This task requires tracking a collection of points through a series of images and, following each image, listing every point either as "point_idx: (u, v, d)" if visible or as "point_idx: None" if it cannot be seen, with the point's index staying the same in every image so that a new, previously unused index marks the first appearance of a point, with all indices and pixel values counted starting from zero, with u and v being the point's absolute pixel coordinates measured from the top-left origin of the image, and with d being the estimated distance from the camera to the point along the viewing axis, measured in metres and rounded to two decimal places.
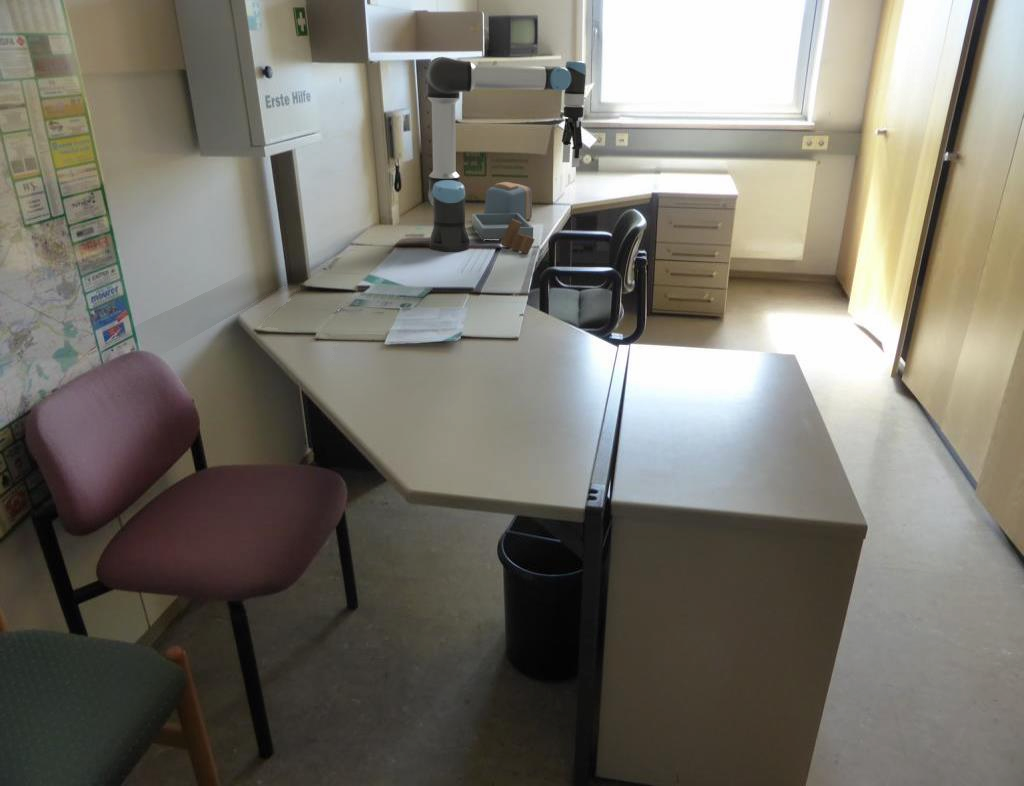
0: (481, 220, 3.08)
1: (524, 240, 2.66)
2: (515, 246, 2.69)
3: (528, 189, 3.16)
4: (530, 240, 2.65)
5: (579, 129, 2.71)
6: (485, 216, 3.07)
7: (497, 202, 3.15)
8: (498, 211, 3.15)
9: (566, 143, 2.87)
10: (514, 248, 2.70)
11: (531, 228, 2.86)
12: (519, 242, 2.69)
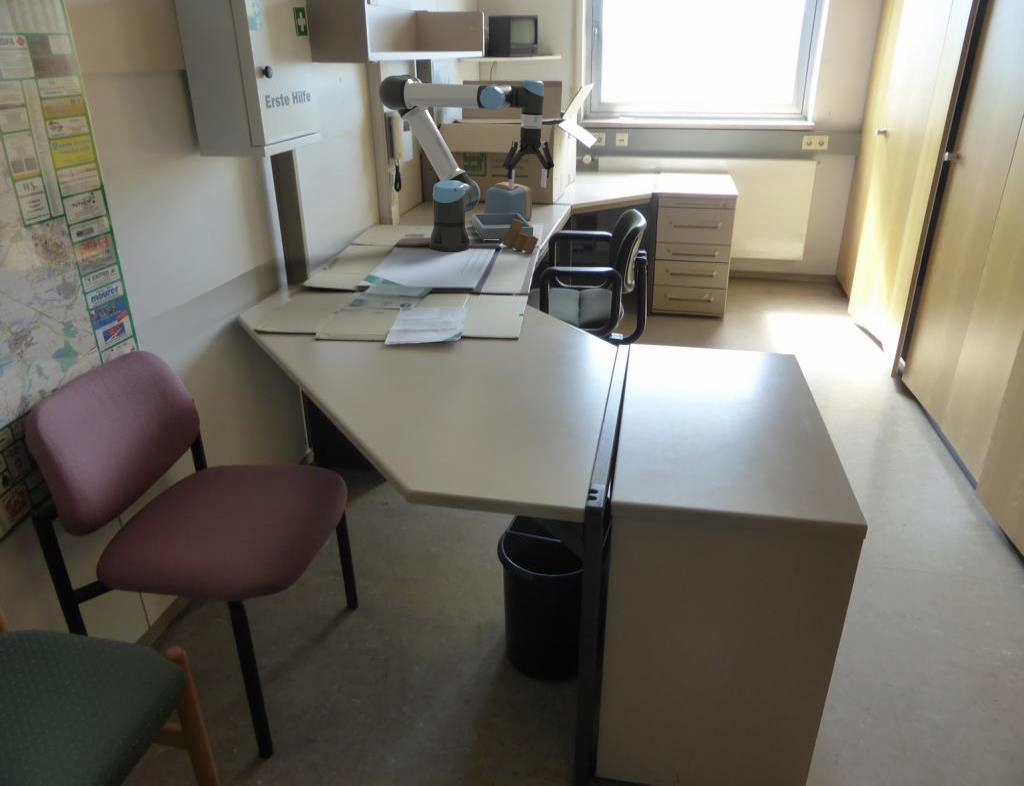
0: (481, 220, 3.08)
1: (528, 240, 2.67)
2: (518, 246, 2.70)
3: (528, 189, 3.16)
4: (534, 240, 2.66)
5: (512, 149, 2.61)
6: (485, 216, 3.07)
7: (497, 202, 3.15)
8: (498, 211, 3.15)
9: (545, 167, 2.70)
10: (518, 248, 2.70)
11: (531, 228, 2.86)
12: (522, 242, 2.70)
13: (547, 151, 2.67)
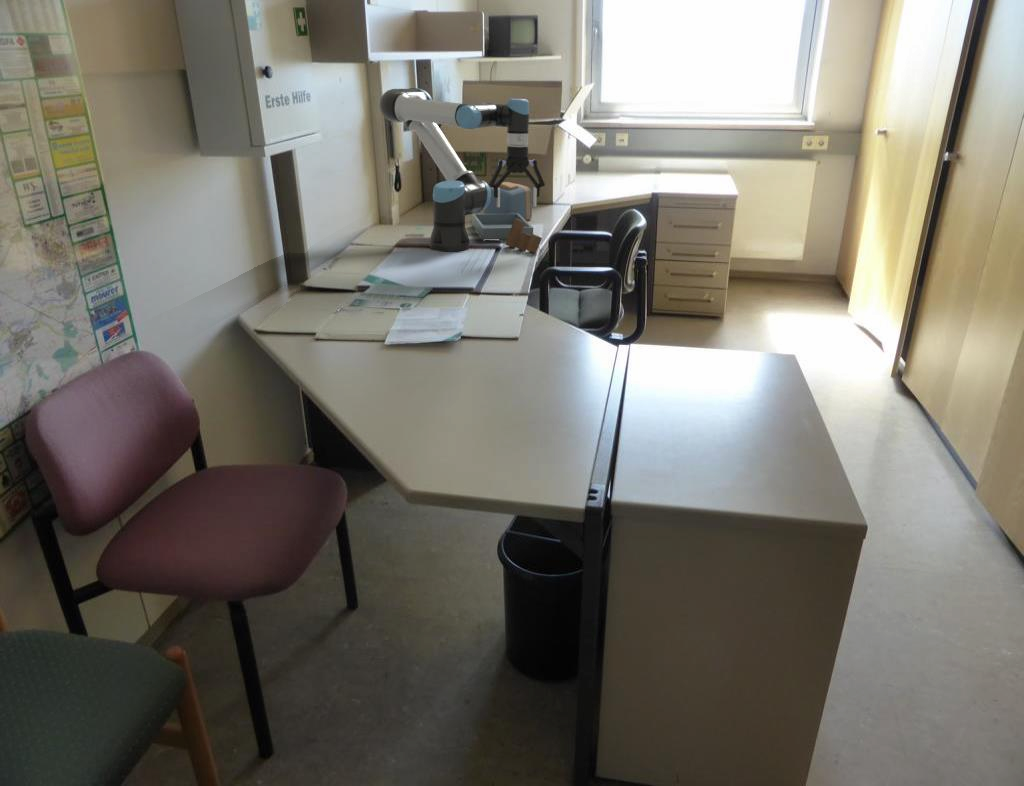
0: (481, 220, 3.08)
1: (532, 239, 2.67)
2: (522, 245, 2.70)
3: (528, 189, 3.16)
4: (538, 239, 2.67)
5: (497, 168, 2.60)
6: (485, 216, 3.07)
7: None
8: (498, 211, 3.15)
9: None
10: (521, 248, 2.70)
11: (531, 228, 2.86)
12: (525, 241, 2.70)
13: (536, 170, 2.62)
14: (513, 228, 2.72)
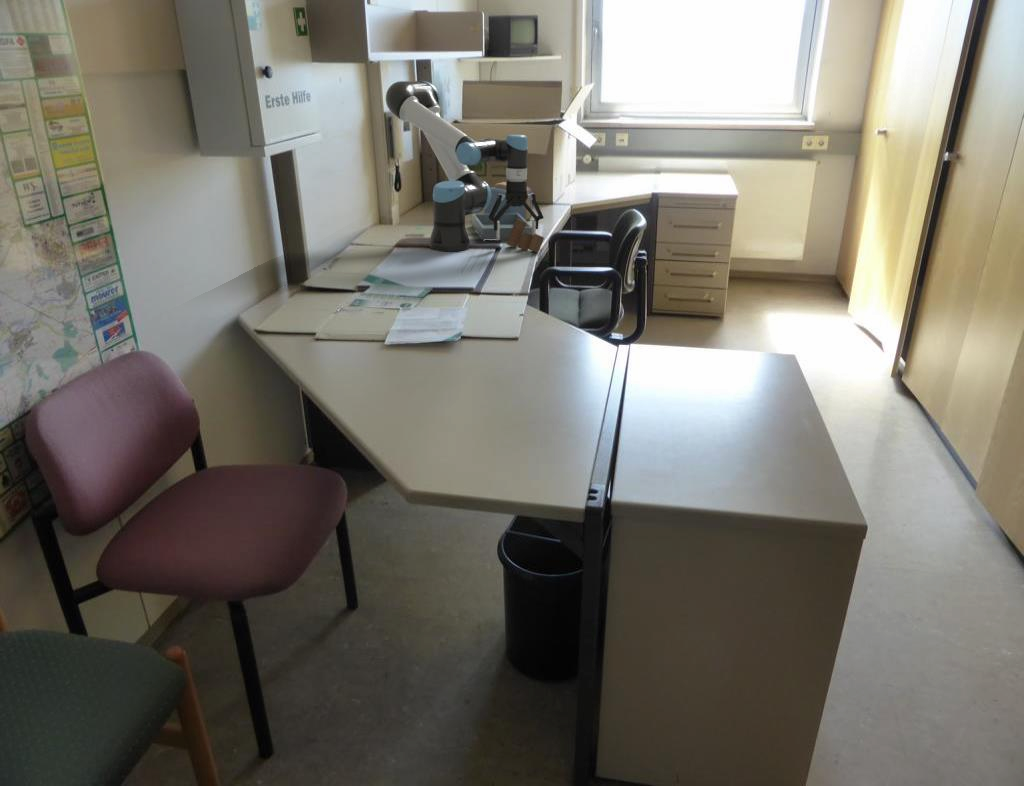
0: (481, 220, 3.08)
1: (534, 239, 2.68)
2: (524, 245, 2.70)
3: (528, 189, 3.16)
4: (540, 239, 2.68)
5: (496, 202, 2.65)
6: (485, 216, 3.07)
7: None
8: (498, 211, 3.15)
9: (534, 219, 2.71)
10: (523, 247, 2.71)
11: (531, 228, 2.86)
12: (528, 241, 2.71)
13: (535, 203, 2.67)
14: (515, 228, 2.72)
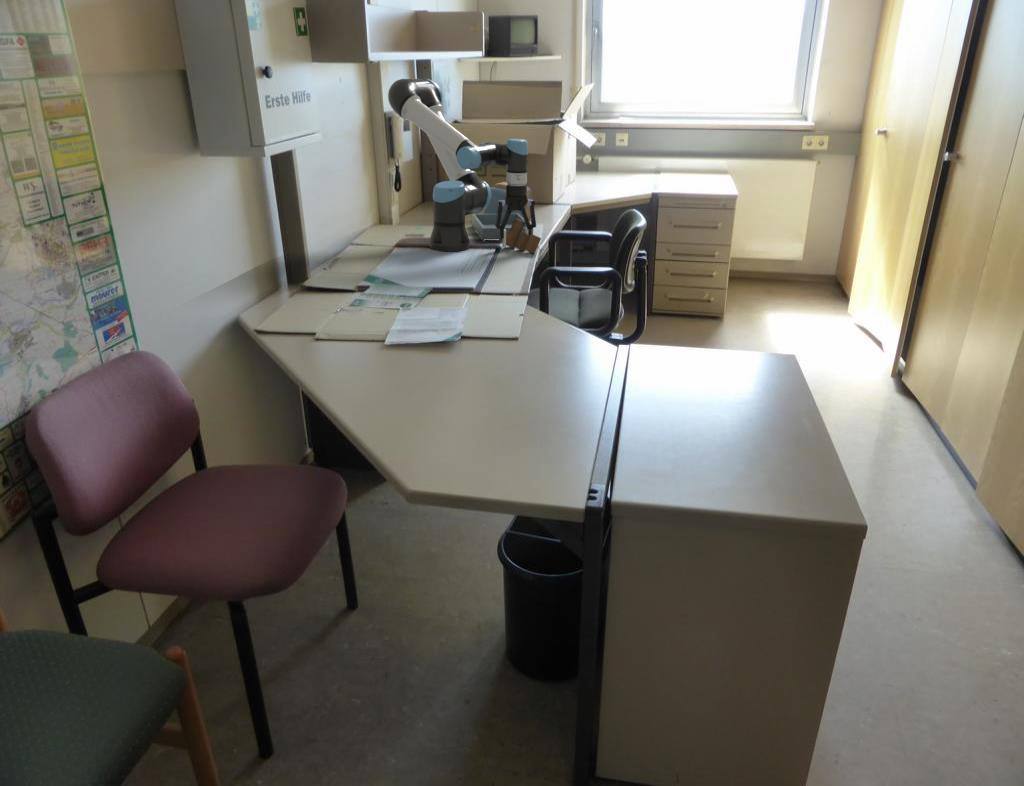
0: (481, 220, 3.08)
1: (531, 239, 2.66)
2: (521, 245, 2.69)
3: (528, 189, 3.16)
4: (537, 239, 2.66)
5: (498, 209, 2.66)
6: (485, 216, 3.07)
7: (497, 202, 3.15)
8: None
9: (527, 227, 2.72)
10: (520, 248, 2.69)
11: None
12: (525, 241, 2.69)
13: (532, 210, 2.68)
14: (513, 228, 2.71)
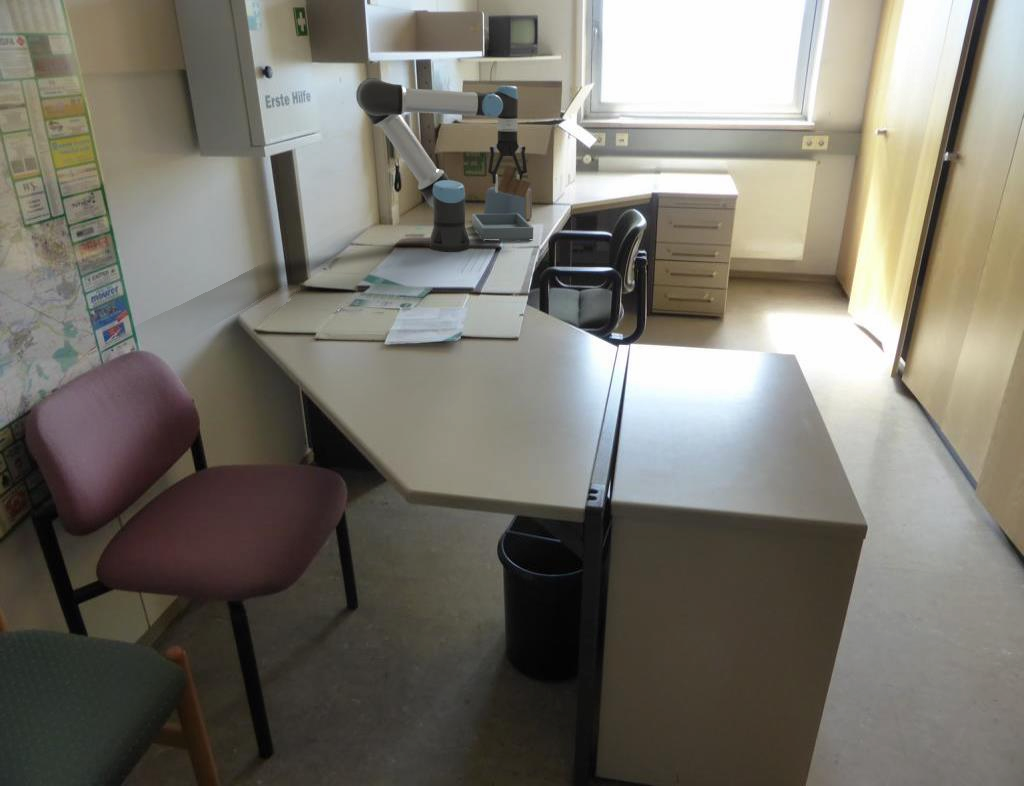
0: (481, 220, 3.08)
1: (521, 183, 2.77)
2: (512, 190, 2.80)
3: (528, 189, 3.16)
4: (526, 183, 2.76)
5: (490, 155, 2.78)
6: (485, 216, 3.07)
7: (497, 202, 3.15)
8: (498, 211, 3.15)
9: None
10: (511, 192, 2.80)
11: (531, 228, 2.86)
12: (515, 186, 2.80)
13: (523, 156, 2.79)
14: (504, 173, 2.82)
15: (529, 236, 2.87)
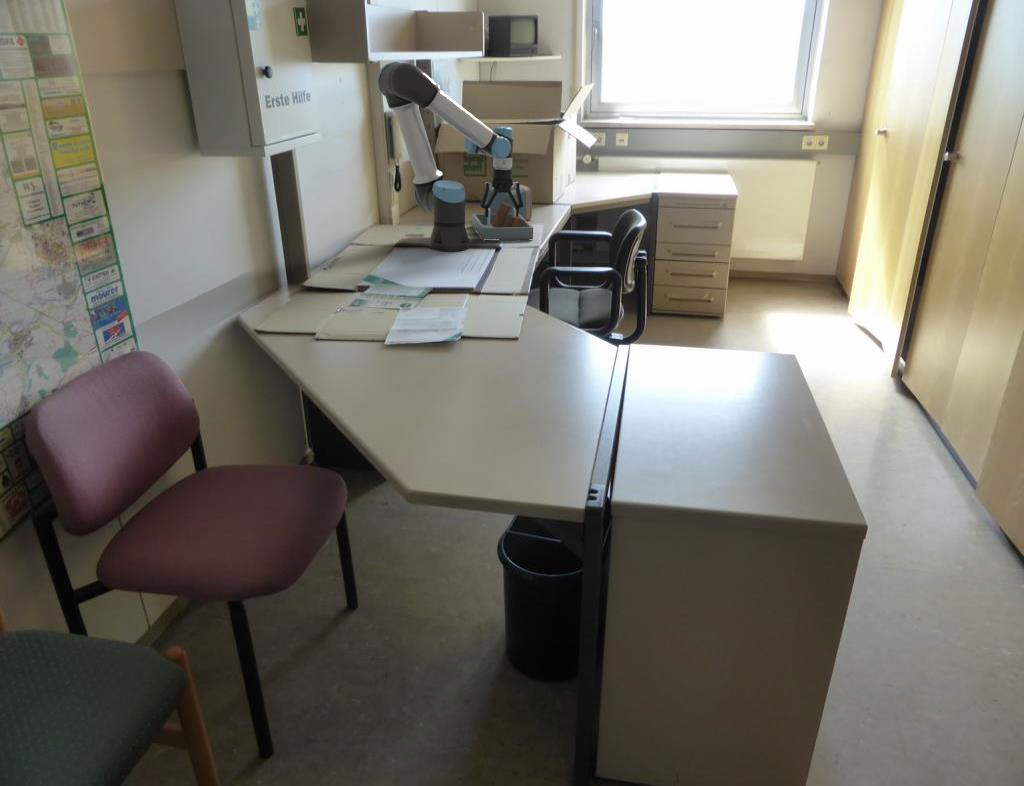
0: (481, 220, 3.08)
1: (515, 221, 2.90)
2: None
3: (528, 189, 3.16)
4: (521, 221, 2.89)
5: (485, 190, 2.89)
6: None
7: (497, 202, 3.15)
8: None
9: (515, 207, 2.95)
10: None
11: (531, 228, 2.86)
12: (510, 223, 2.93)
13: (518, 191, 2.91)
14: (499, 211, 2.95)
15: (529, 236, 2.87)
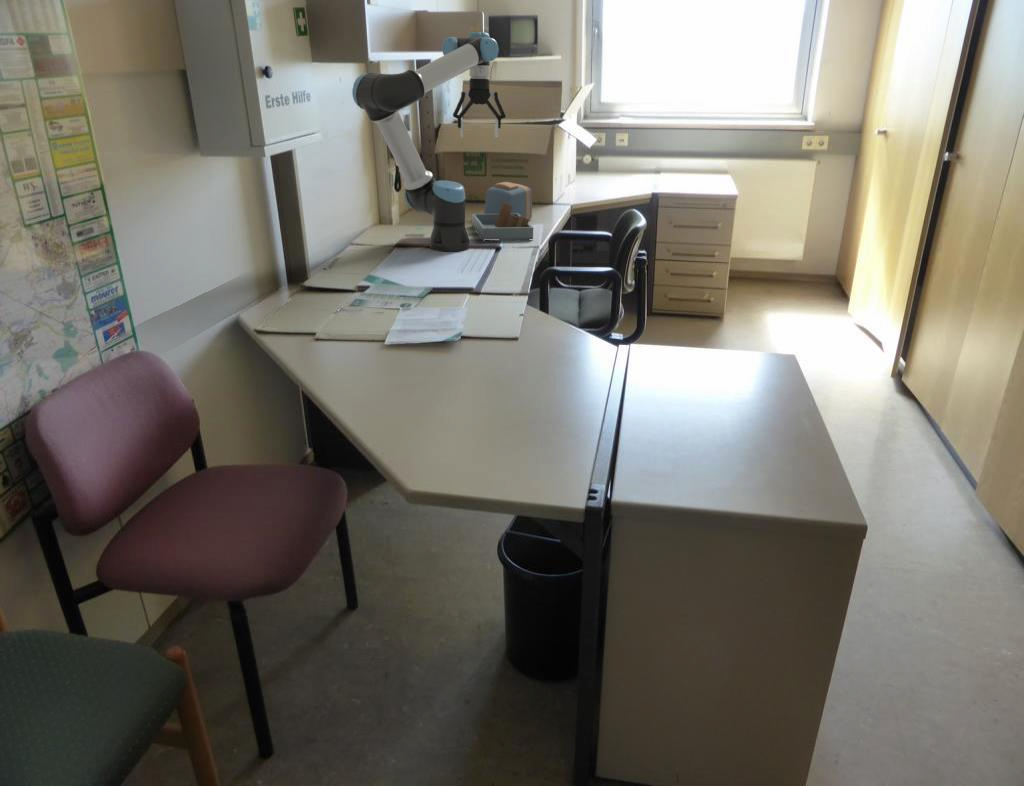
0: (481, 220, 3.08)
1: (520, 221, 2.91)
2: None
3: (528, 189, 3.16)
4: (526, 220, 2.91)
5: (460, 99, 2.76)
6: (485, 216, 3.07)
7: (497, 202, 3.15)
8: (498, 211, 3.15)
9: (497, 118, 2.82)
10: None
11: (531, 228, 2.86)
12: (514, 223, 2.94)
13: (497, 101, 2.79)
14: (502, 211, 2.95)
15: (529, 236, 2.87)
